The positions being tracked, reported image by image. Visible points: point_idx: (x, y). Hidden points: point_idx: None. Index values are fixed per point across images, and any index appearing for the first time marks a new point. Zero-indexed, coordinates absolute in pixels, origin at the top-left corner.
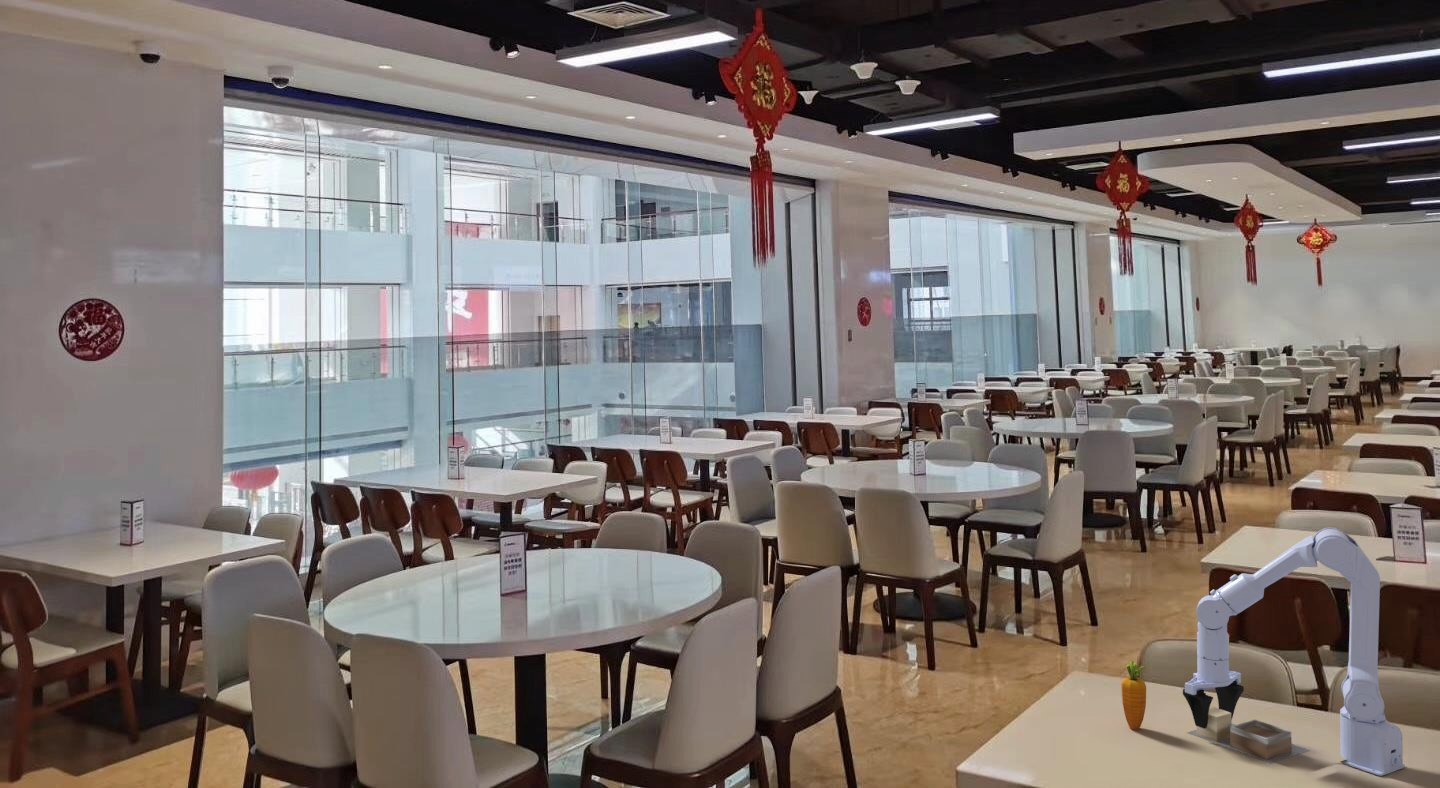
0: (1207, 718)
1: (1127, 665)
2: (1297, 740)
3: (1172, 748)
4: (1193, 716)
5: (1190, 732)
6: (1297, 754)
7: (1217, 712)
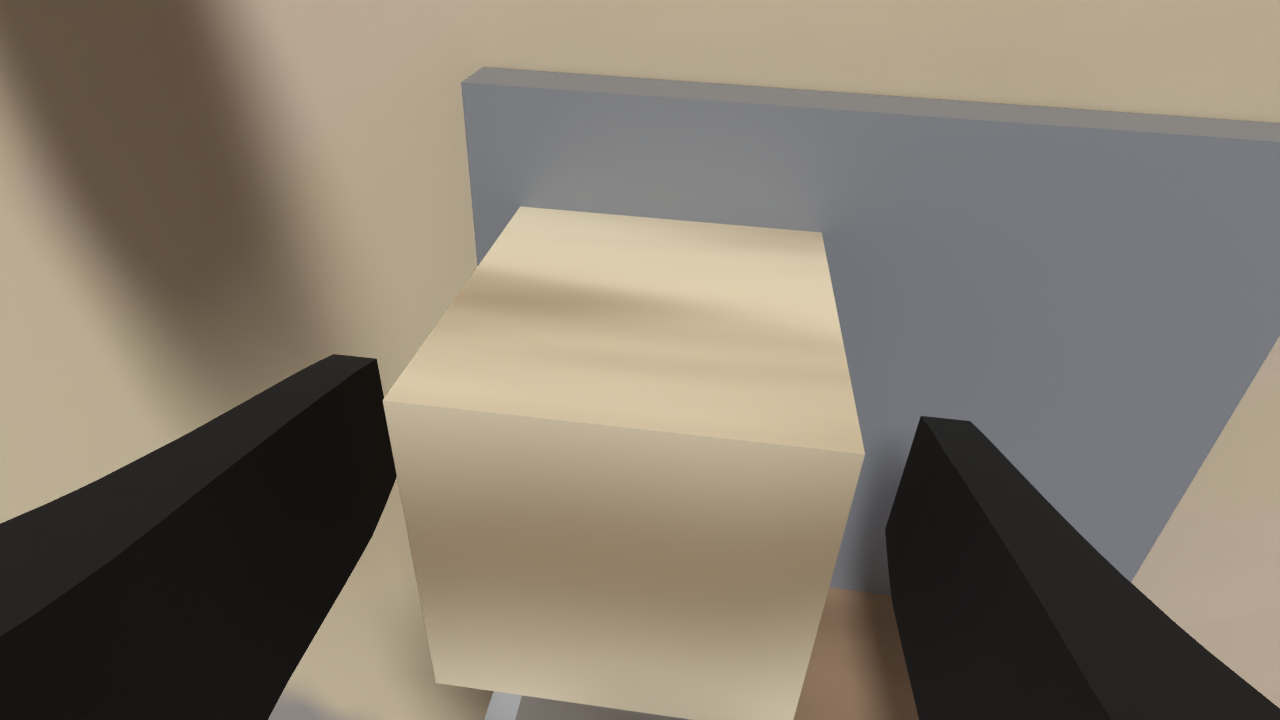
0: (319, 606)
1: None
2: (1275, 699)
3: (98, 173)
4: (229, 419)
5: (511, 111)
6: None
7: (626, 630)
